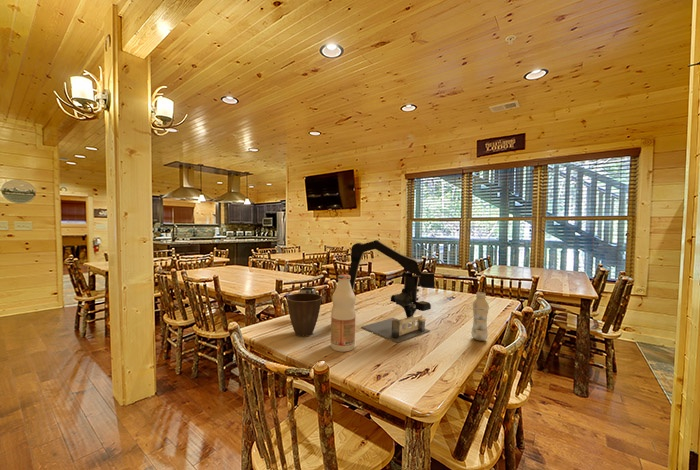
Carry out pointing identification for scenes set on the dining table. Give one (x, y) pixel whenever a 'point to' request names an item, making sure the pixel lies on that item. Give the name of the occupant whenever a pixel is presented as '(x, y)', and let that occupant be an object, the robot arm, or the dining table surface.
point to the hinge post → (395, 329)
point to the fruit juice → (343, 316)
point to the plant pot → (304, 312)
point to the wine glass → (308, 290)
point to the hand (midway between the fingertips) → (409, 320)
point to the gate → (406, 321)
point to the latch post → (421, 324)
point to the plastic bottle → (480, 317)
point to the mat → (385, 330)
